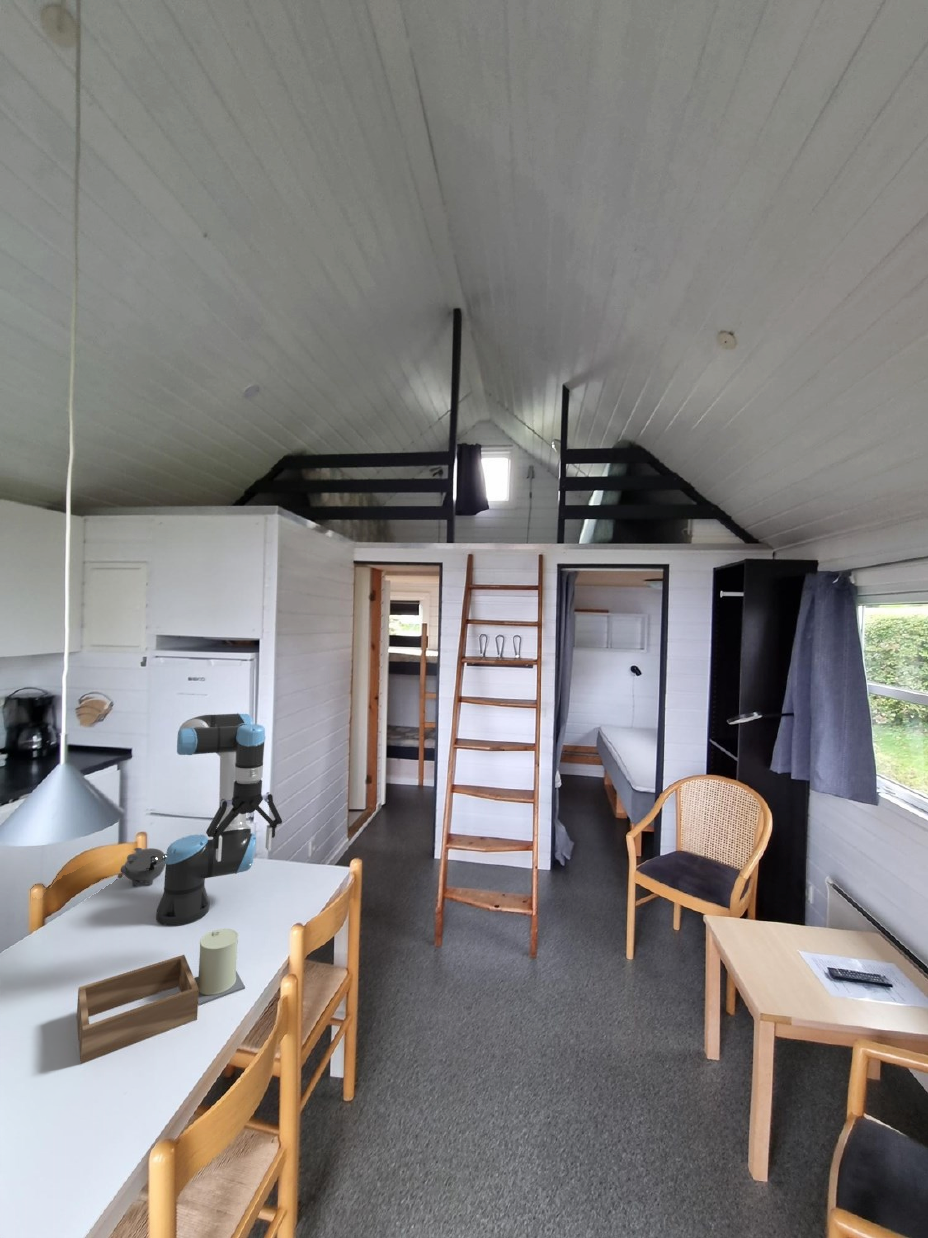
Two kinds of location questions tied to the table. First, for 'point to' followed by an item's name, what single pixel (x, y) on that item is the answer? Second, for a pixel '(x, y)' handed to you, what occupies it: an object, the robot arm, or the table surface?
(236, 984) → the mat
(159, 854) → the piggy bank
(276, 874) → the table surface
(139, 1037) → the crate
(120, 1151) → the table surface
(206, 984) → the can
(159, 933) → the table surface
